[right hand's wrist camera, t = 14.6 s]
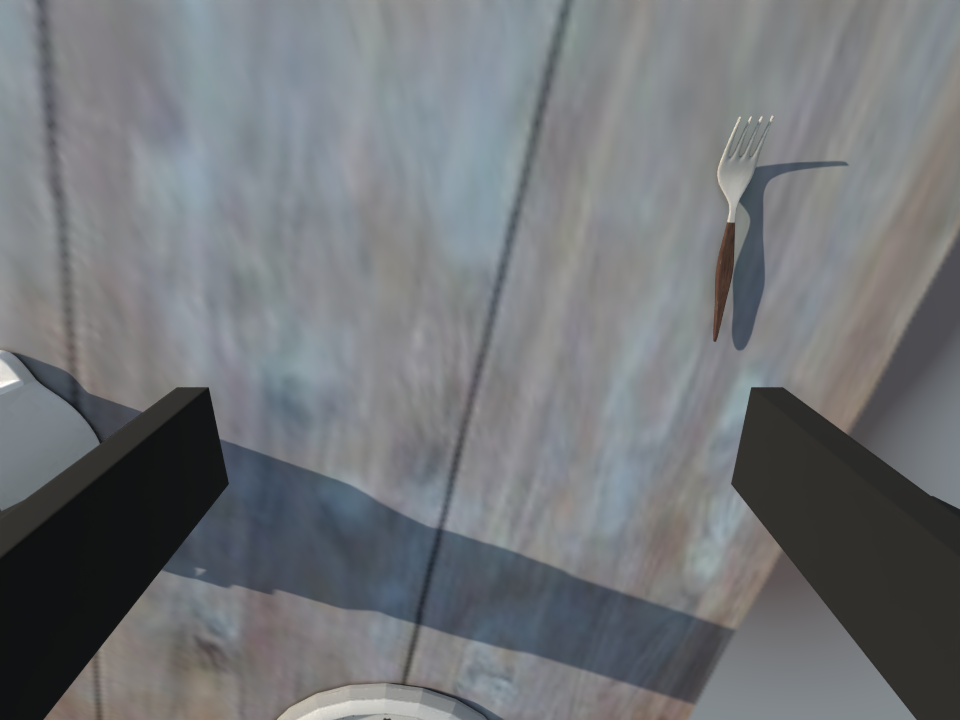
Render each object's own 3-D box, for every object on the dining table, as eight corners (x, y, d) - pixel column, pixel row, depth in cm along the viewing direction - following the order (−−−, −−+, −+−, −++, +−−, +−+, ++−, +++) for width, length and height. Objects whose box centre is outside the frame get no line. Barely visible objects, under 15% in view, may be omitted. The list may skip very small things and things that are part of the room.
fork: (695, 339, 41) (705, 348, 39) (723, 119, 35) (737, 116, 33) (728, 338, 41) (740, 347, 39) (761, 117, 35) (777, 115, 33)
